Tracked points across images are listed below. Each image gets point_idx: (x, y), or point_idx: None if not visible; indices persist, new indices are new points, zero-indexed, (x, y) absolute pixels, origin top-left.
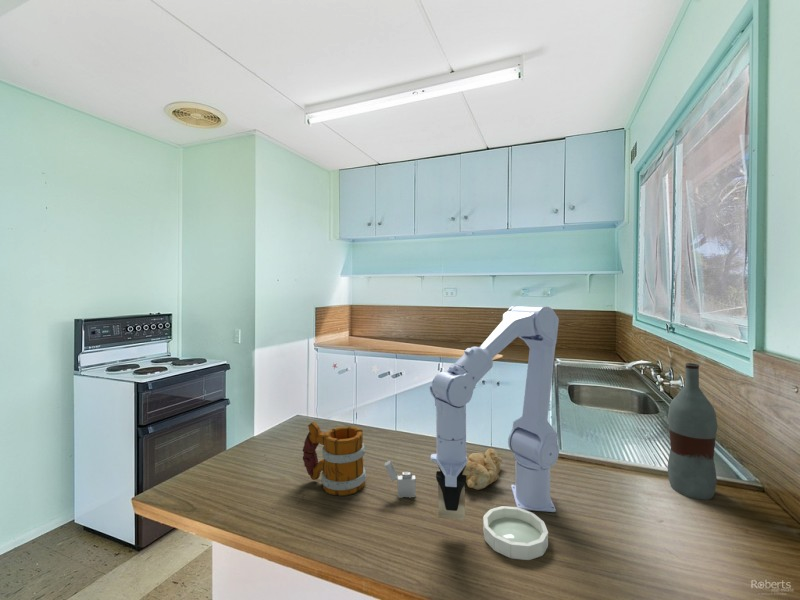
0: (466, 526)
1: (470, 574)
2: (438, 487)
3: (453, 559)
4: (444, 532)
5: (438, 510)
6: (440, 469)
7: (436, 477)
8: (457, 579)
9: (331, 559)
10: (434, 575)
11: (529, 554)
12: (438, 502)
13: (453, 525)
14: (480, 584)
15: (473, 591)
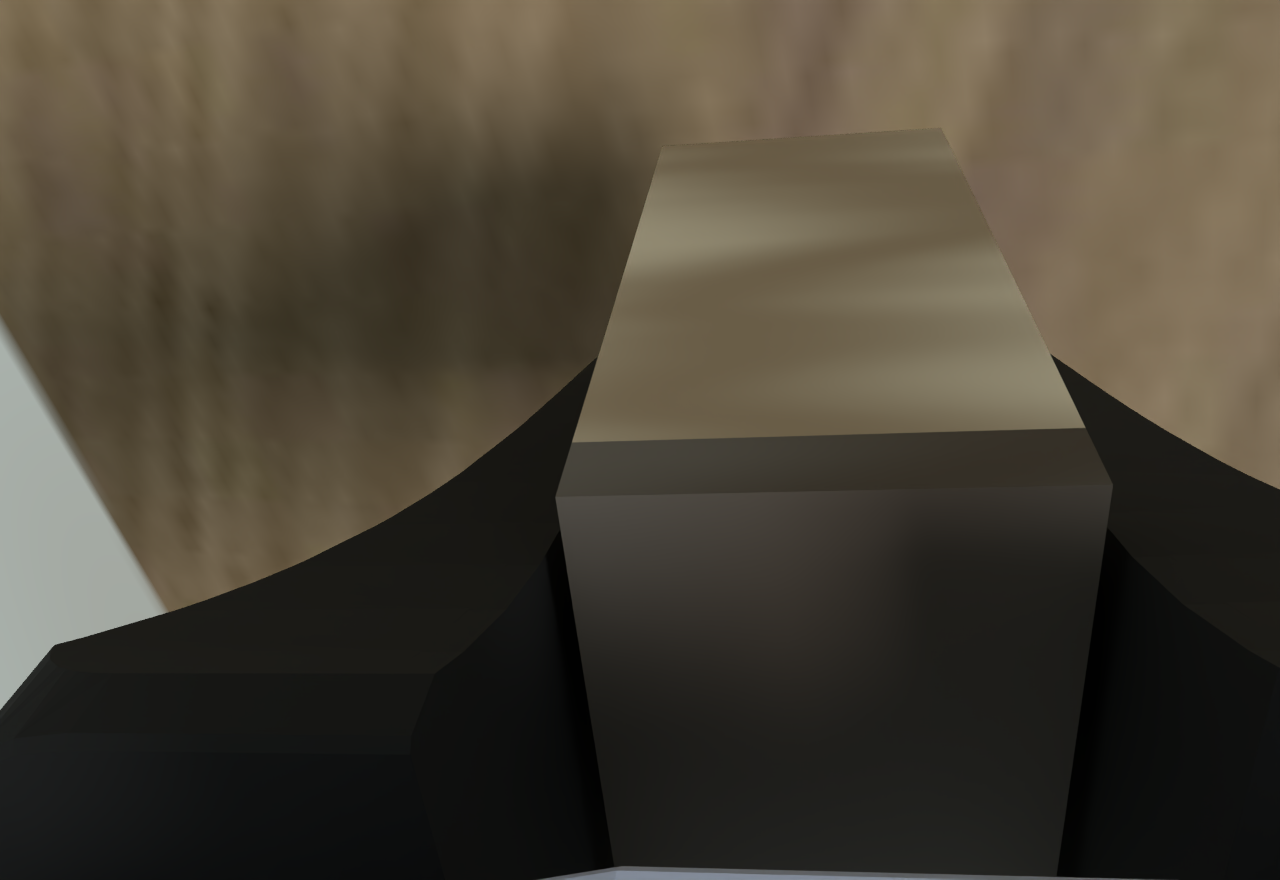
0: None
1: (261, 428)
2: (584, 411)
3: (390, 271)
4: (829, 130)
5: (650, 188)
6: (1181, 643)
7: (24, 707)
8: (150, 321)
9: None
10: (88, 92)
11: None
12: (637, 245)
13: (993, 236)
14: (188, 501)
15: (90, 450)
